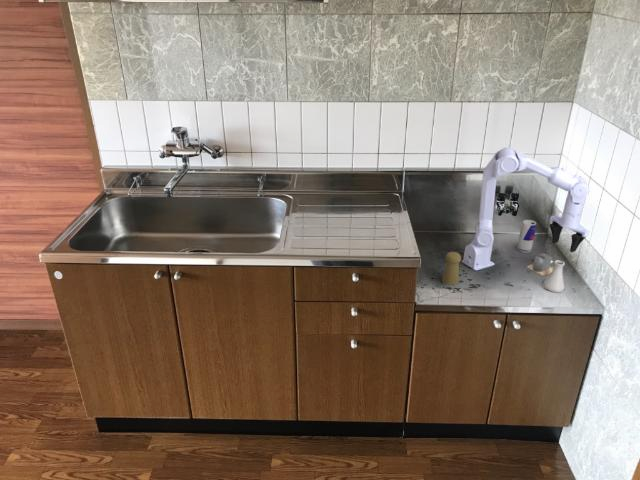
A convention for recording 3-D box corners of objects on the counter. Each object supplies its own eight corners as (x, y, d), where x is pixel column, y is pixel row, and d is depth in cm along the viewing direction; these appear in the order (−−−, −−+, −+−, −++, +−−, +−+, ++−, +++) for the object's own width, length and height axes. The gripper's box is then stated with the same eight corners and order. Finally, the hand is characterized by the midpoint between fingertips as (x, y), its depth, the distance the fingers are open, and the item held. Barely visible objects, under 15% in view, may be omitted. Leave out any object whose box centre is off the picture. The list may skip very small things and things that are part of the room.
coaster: (541, 276, 186) (542, 274, 186) (526, 267, 192) (527, 265, 191) (555, 271, 189) (555, 270, 189) (540, 263, 195) (540, 261, 194)
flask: (562, 295, 175) (569, 269, 171) (540, 289, 179) (546, 264, 174) (566, 285, 181) (572, 260, 176) (544, 279, 184) (550, 255, 179)
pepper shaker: (459, 277, 185) (463, 250, 180) (458, 286, 180) (462, 259, 175) (442, 275, 187) (445, 248, 182) (440, 283, 182) (444, 256, 177)
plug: (537, 272, 187) (540, 260, 185) (530, 268, 190) (532, 256, 188) (552, 267, 190) (555, 256, 188) (545, 263, 193) (547, 251, 191)
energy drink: (532, 253, 201) (538, 226, 196) (517, 252, 202) (523, 224, 197) (530, 247, 206) (535, 220, 200) (516, 246, 207) (521, 219, 201)
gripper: (598, 217, 174) (589, 253, 180) (563, 202, 185) (555, 236, 191) (584, 221, 171) (575, 257, 177) (549, 206, 182) (541, 240, 189)
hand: (563, 246), depth 184 cm, fingers open, 7 cm apart
